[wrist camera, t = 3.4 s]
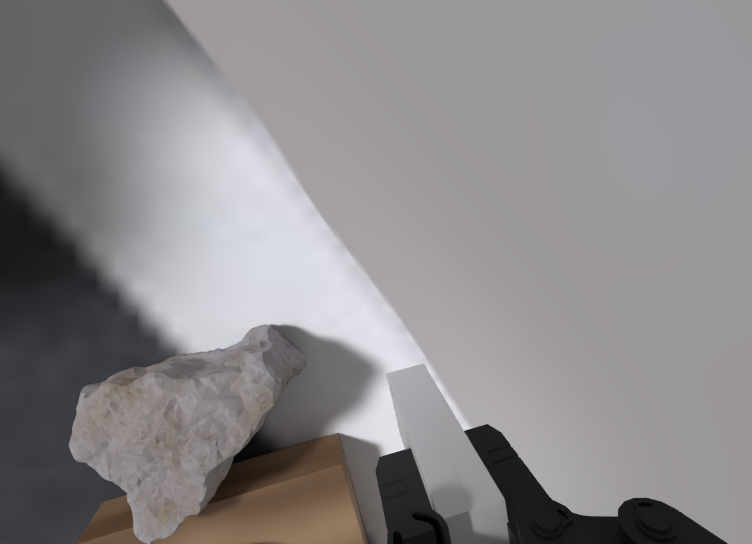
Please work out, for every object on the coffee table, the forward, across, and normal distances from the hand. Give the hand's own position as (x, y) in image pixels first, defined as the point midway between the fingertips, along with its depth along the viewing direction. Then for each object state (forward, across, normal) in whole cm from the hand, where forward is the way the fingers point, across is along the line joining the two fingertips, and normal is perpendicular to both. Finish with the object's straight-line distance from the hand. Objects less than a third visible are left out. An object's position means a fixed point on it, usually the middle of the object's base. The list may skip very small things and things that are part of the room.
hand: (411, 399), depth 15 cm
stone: (+7, -10, 0) cm, 12 cm away
